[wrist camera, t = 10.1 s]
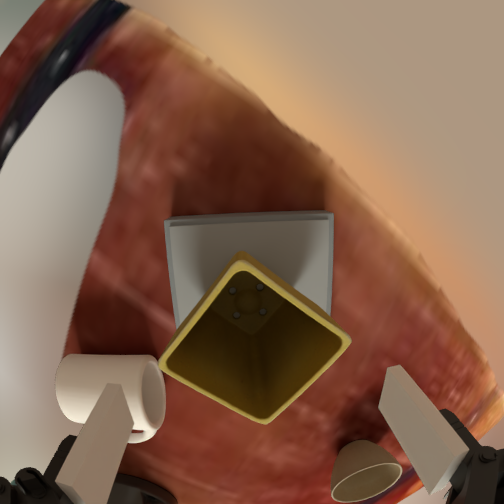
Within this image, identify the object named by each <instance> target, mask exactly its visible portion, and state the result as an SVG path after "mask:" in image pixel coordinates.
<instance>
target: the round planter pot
mask: <svg viewBox="0 0 504 504" xmlns="http://www.w3.org/2000/svg"><path fill="white" fill-rule="evenodd" d="M401 474H402V467H401V465H400V464H399V462H398V461H397V460H396V459H395V458H394V457H393V456H392V455H391V454H390V453H389V452H388V451H386V450H385V449H384V448H382V447H381V446H379V445H377V444H375V443H373V442H370V441H368V440H357V441H354V442H351V443H349V444H347V445H346V446H344V447H343V448H342V449H341V450H340V452H339V454H338V456H337V458H336V461H335V463H334V467H333V471H332V476H331V496H332V498H333V499H334V500H336V501H339V502H356V501H361V500H364V499H368V498H370V497H373V496H375V495H377V494H379V493H381V492H383V491H385V490H386V489H388V488H389V487H391V486H392V485H393V484H394V483H395V482H396V481H397V480H398V479H399V478H400V476H401Z"/></svg>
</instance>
